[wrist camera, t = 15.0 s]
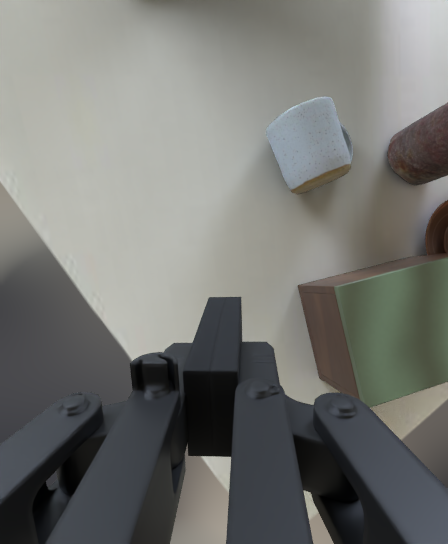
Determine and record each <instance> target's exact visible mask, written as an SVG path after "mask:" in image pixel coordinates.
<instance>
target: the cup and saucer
mask: <svg viewBox="0 0 448 544" xmlns="http://www.w3.org/2000/svg"><path fill="white" fill-rule="evenodd" d="M425 244H426V251H427V255H433V254H443V253H448V200H447V201H445V202H444V203H442V204H441V205H440V206H439V207H438V208H437V209H436V210H435V212H434V213H433V214H432V216H431V218H430V220H429V223H428V226H427V230H426V237H425Z"/></svg>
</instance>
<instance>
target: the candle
mask: <svg viewBox="0 0 448 544" xmlns="http://www.w3.org/2000/svg"><path fill="white" fill-rule="evenodd" d="M387 157H388V160H389V164H390V166H391V167H392V168H393V171H394V172H395V173H396V174H398V175H399V176H401V177H402V178H403V179H404V180H405V181H407V182H409V183H410V184H414V185H419V184H425V183H428V182H431V181H433V180H436V179H438V178H441V177H444V176H447V175H448V103H446V104H445V105H443V106H441V107H439V108H438V109H436V110H434V111H433V112H431V113H429V114H428V115H426V116H424V117H423V118H421V119H419V120H418V121H416V122H414V123H413V124H411V125H410V126H408V127H406V128H405V129H403V130H401V131H400V132H398V133H397V134H395V135H394V136H393V137H392V139H391V141H390V145H389V150H388V155H387Z"/></svg>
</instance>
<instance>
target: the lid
mask: <svg viewBox="0 0 448 544" xmlns="http://www.w3.org/2000/svg"><path fill="white" fill-rule="evenodd" d="M334 290H335V294H336V299H337V303H338V307H339V312H340V316H341V320H342V324H343V329H344V333H345V337H346V342H347V346H348V350H349V355H350V359H351V363H352V367H353V372H354V376H355V380H356V385H357V389H358V393H359V397H360V400H361V401H362V402H363V403H365V404H366V405H367V406H368V407H369V408H370V407H373V406H376V405H379V404H382V403H385V402H388V401H391V400H394V399H397V398H400V397H403V396H406V395H409V394H412V393H415V392H418V391H421V390H424V389H427V388H430V387H433V386H436V385H439V384H442V383H445V382H448V257H445V258H441V259H437V260H434V261H430V262H426V263H422V264H418V265H414V266H410V267H407V268H403V269H399V270H395V271H391V272H387V273H384V274H380V275H376V276H372V277H368V278H364V279H361V280H357V281H353V282H349V283H345V284H341V285H337V286H334Z"/></svg>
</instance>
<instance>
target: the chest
mask: <svg viewBox="0 0 448 544" xmlns="http://www.w3.org/2000/svg"><path fill="white" fill-rule="evenodd" d="M445 257H448V253H443V254H433V255H423V256H413V257H407V258H403V259H399V260H395V261H391V262H387V263H384V264H380V265H376V266H372V267H368V268H364V269H360V270H356V271H352V272H348V273H344V274H340V275H336V276H332V277H328V278H325V279H321V280H317V281H313V282H309V283H305V284H301V285H298V288H299V293H300V297H301V301H302V305H303V310H304V314H305V318H306V323H307V327H308V331H309V335H310V340H311V344H312V348H313V352H314V357H315V361H316V365H317V370H318V374H319V378H320V379H321V380H323V381H325V382H326V383H328V384H329V385H331V386H332V387H334V388H335V389H337V390H338V391H340V392H341V393H344V394H348V395H351V396H353V397H355V398H358V399H359V400H360V397H359V393H358V389H357V385H356V380H355V376H354V372H353V367H352V363H351V359H350V355H349V350H348V346H347V342H346V337H345V333H344V329H343V324H342V320H341V316H340V312H339V307H338V303H337V299H336V294H335V290H334V286H337V285H341V284H345V283H349V282H353V281H357V280H361V279H364V278H368V277H372V276H376V275H380V274H384V273H387V272H391V271H395V270H399V269H403V268H407V267H410V266H414V265H418V264H422V263H426V262H430V261H434V260H437V259H441V258H445Z"/></svg>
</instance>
